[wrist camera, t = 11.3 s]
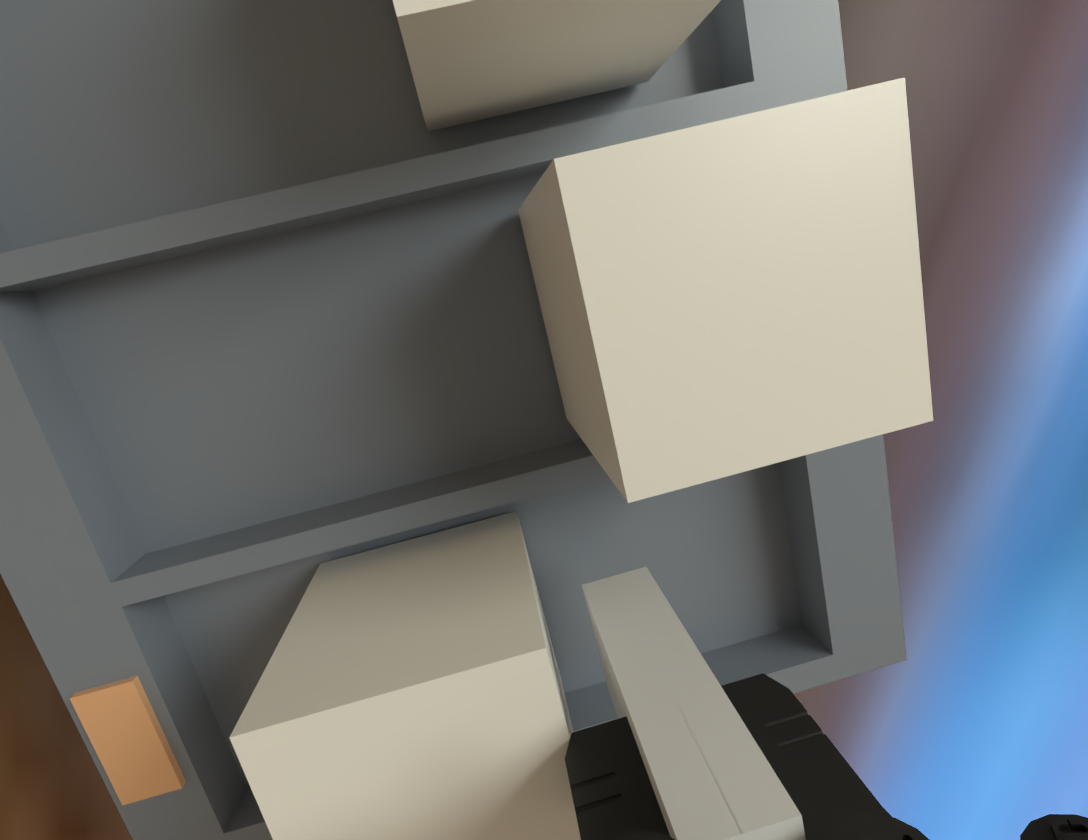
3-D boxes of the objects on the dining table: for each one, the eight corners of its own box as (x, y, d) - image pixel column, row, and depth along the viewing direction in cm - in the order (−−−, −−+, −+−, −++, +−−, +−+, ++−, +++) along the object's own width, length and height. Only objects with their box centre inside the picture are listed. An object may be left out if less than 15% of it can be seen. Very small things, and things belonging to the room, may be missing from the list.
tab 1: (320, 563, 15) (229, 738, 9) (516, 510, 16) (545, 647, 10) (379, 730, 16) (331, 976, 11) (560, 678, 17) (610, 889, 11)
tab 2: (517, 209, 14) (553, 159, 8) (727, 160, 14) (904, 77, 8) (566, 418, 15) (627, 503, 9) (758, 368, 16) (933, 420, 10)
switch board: (-153, -46, 13) (-381, -167, 10) (722, -217, 15) (805, -379, 11) (211, 773, 19) (150, 890, 15) (832, 595, 20) (911, 664, 16)
